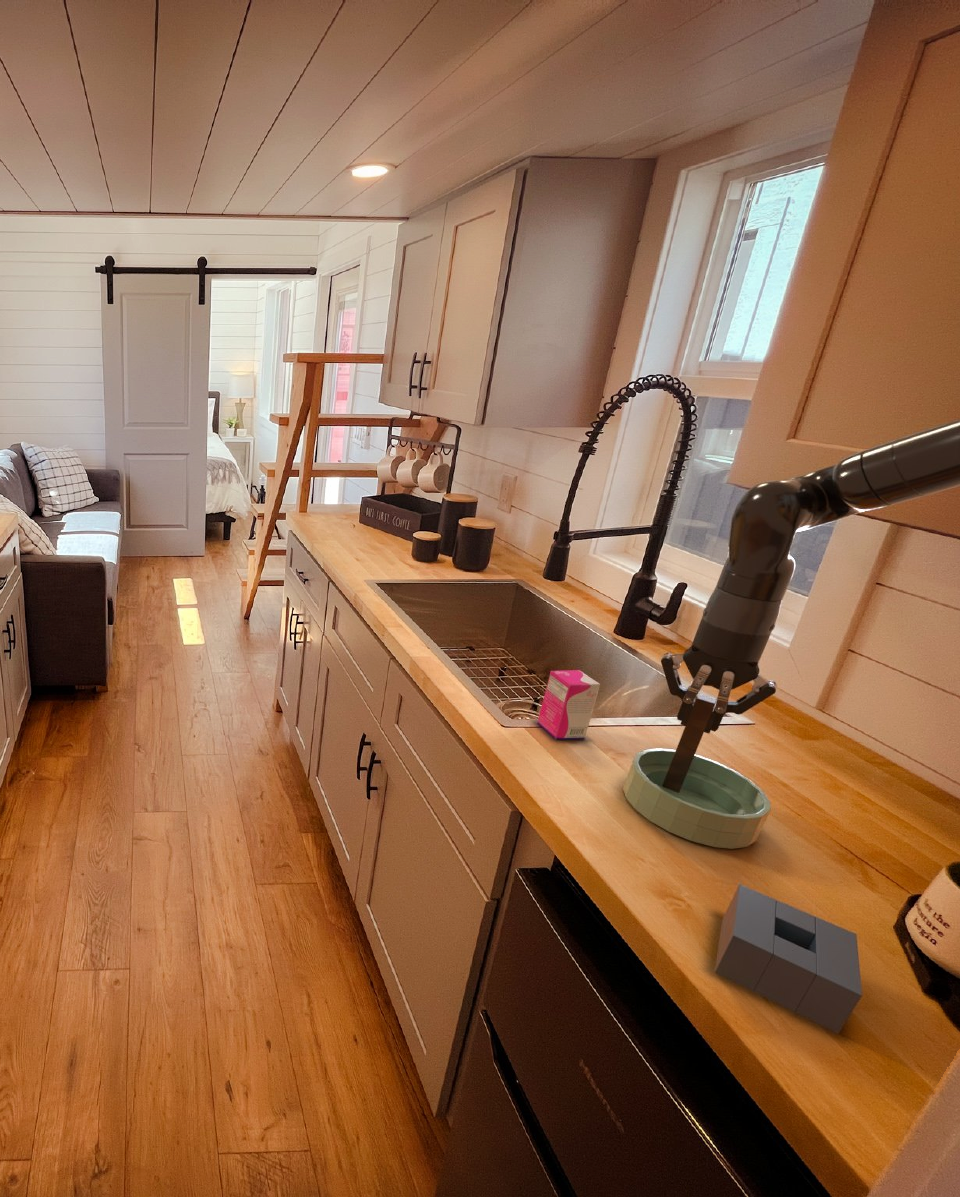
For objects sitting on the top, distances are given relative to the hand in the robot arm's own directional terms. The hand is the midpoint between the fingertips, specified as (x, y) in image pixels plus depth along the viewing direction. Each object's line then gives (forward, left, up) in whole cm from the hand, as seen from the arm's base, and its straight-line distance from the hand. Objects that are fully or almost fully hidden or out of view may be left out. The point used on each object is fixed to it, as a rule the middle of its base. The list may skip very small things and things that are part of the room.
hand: (695, 726), depth 96 cm
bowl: (-3, +1, -14) cm, 14 cm away
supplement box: (+17, -10, -14) cm, 25 cm away
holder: (-14, +28, -14) cm, 34 cm away
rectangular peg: (0, 0, -11) cm, 11 cm away
